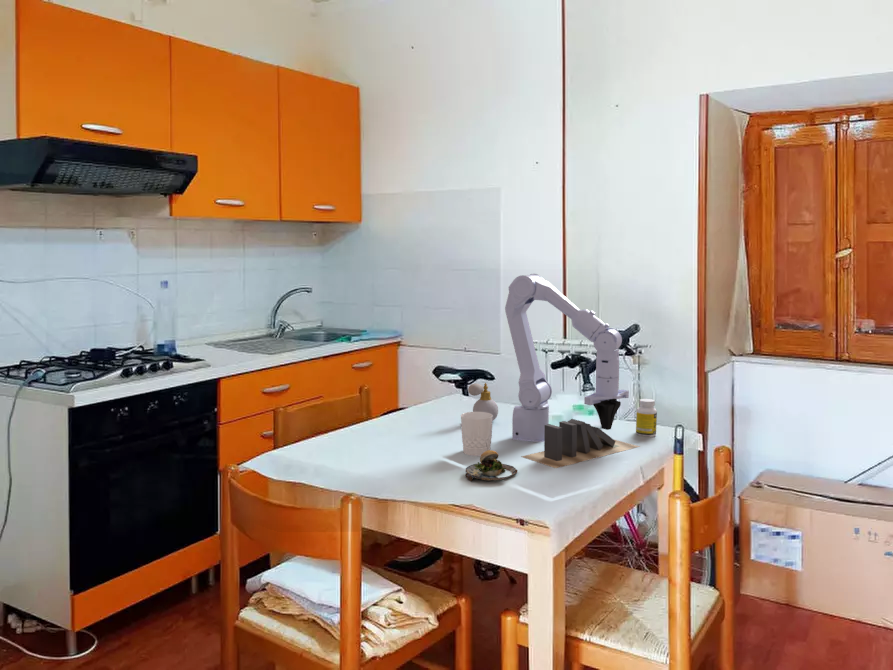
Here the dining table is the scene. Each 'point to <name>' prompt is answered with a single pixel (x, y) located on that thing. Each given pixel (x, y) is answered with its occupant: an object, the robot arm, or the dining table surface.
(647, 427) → the supplement bottle
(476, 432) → the white cup
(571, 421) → the domino
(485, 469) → the burger
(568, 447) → the domino
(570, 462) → the oak board
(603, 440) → the domino
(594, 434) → the domino
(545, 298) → the robot arm
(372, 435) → the dining table surface
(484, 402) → the perfume bottle
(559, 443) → the domino
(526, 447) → the dining table surface
